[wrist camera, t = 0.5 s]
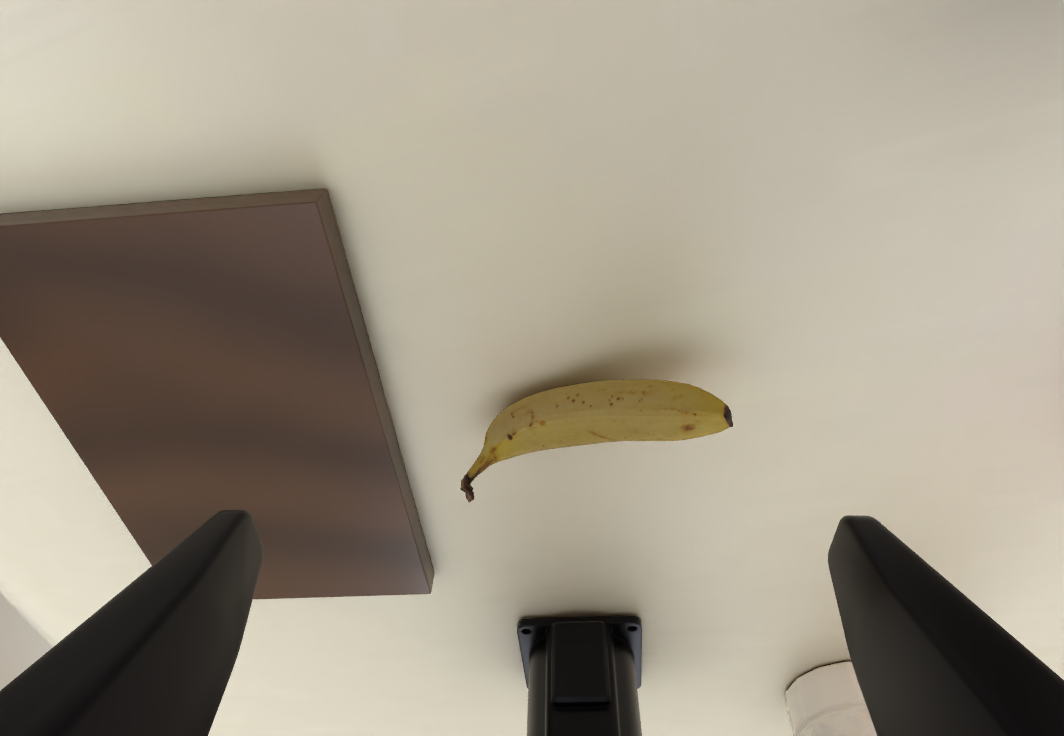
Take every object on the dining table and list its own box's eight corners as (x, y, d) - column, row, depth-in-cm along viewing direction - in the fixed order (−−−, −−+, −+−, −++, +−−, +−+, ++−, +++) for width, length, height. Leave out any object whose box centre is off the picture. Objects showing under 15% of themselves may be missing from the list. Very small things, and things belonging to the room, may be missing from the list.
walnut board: (434, 573, 33) (431, 594, 32) (186, 581, 34) (175, 602, 33) (327, 187, 22) (316, 201, 21) (-44, 216, 23) (-71, 231, 22)
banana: (704, 330, 24) (727, 397, 21) (718, 379, 26) (742, 449, 22) (457, 404, 27) (444, 475, 24) (481, 446, 28) (472, 519, 25)
